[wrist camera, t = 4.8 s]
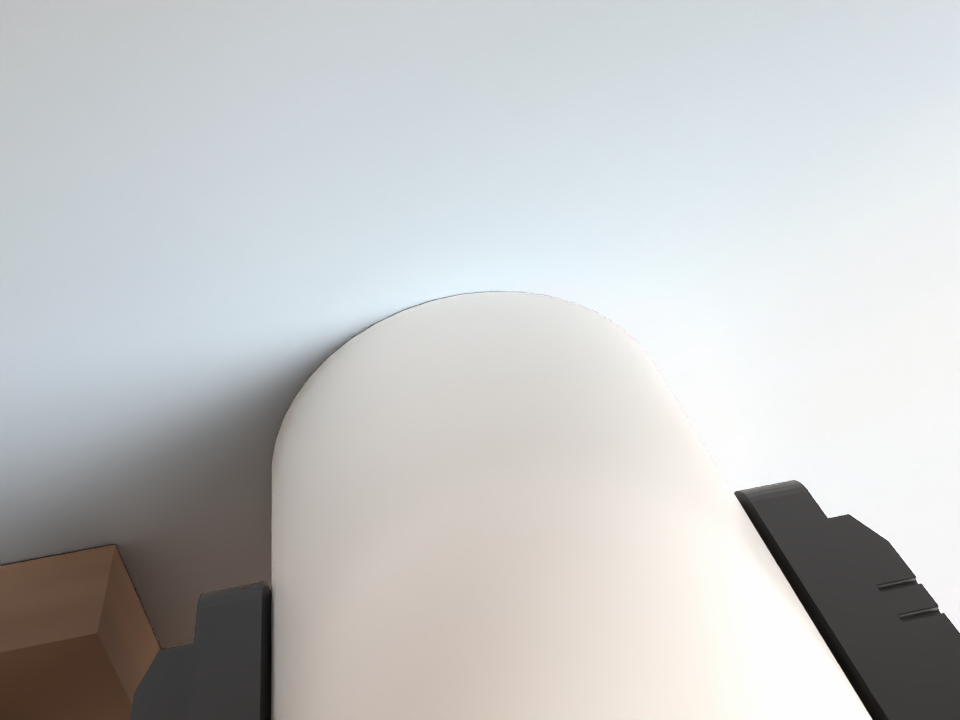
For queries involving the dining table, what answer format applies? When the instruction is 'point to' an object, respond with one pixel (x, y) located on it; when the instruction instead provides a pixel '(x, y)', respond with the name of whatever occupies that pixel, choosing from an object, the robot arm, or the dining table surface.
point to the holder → (71, 638)
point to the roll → (521, 536)
